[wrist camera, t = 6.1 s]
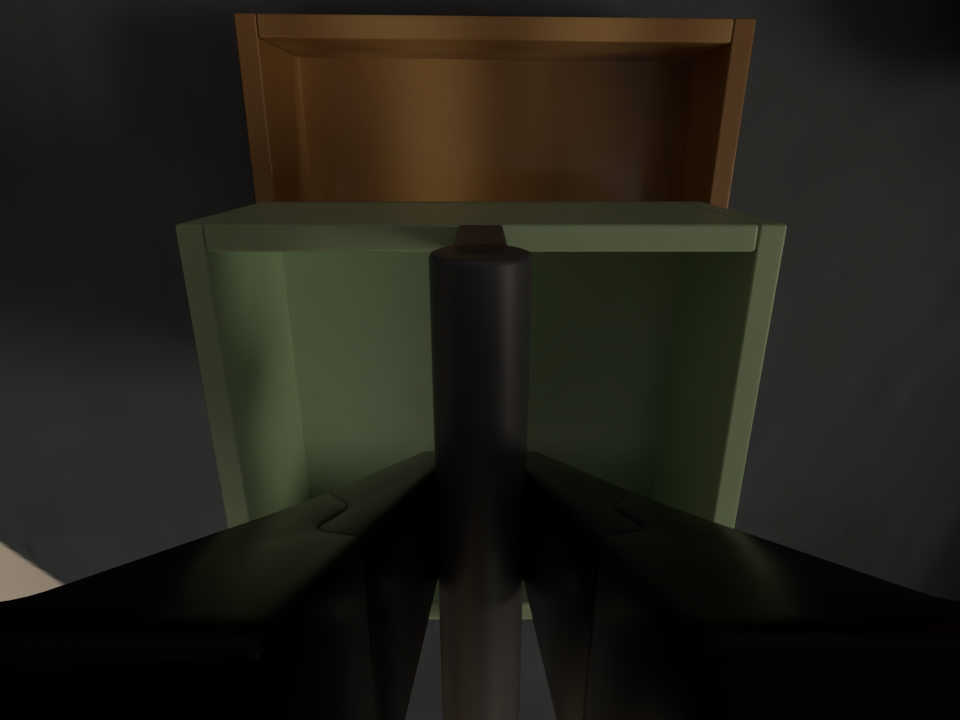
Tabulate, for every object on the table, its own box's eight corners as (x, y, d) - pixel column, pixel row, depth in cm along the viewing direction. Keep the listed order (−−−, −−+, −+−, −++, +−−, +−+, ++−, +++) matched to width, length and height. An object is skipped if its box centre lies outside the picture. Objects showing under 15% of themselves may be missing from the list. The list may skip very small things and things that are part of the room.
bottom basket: (315, 372, 24) (280, 420, 20) (284, 39, 20) (232, 12, 16) (658, 375, 24) (695, 423, 20) (698, 44, 20) (756, 18, 16)
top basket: (299, 507, 18) (168, 770, 10) (261, 201, 15) (35, 261, 7) (662, 507, 18) (793, 771, 10) (700, 201, 15) (927, 260, 7)
